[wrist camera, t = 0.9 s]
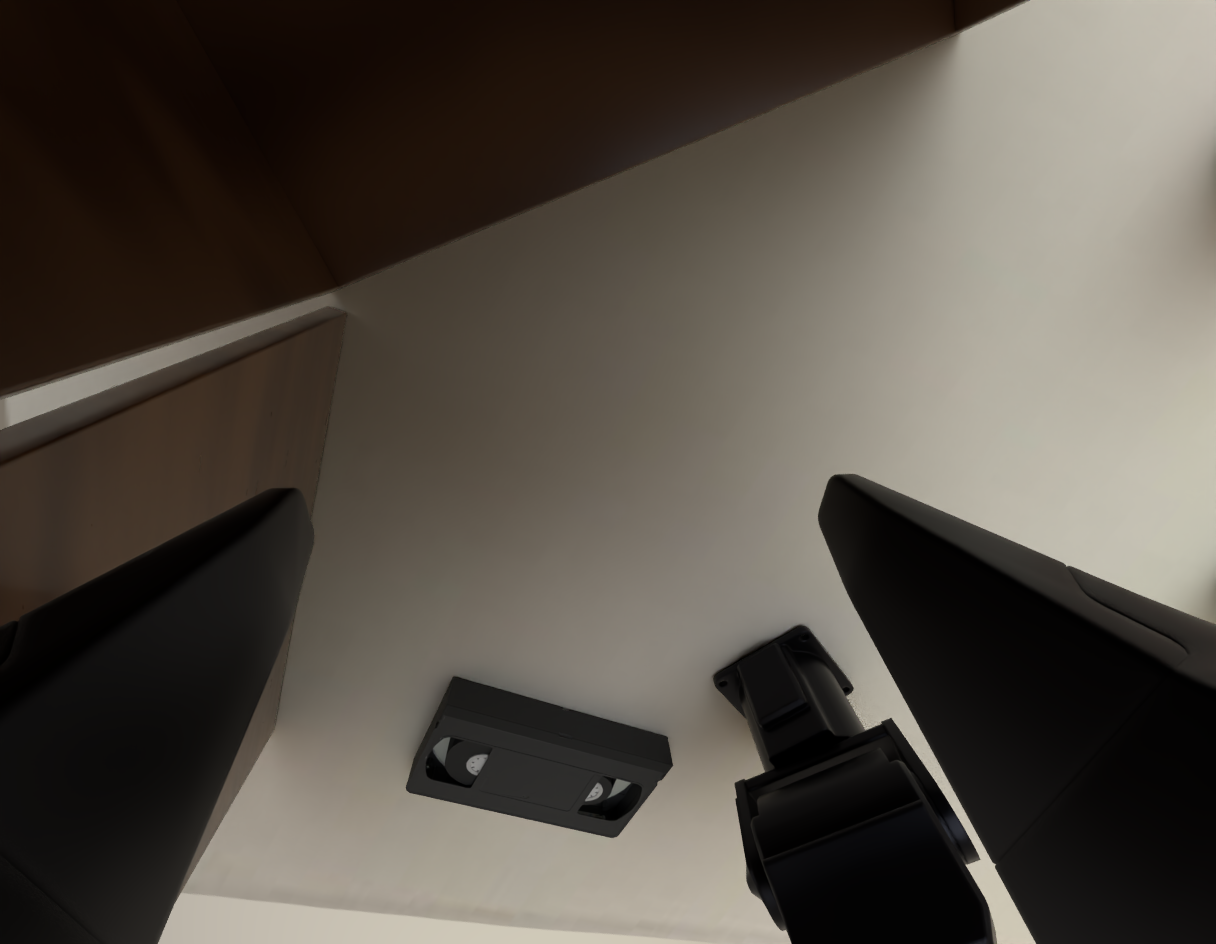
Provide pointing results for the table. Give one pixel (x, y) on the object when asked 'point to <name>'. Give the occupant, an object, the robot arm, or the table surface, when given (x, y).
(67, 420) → the cupboard door
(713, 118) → the cupboard
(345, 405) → the table surface
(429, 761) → the vhs tape
